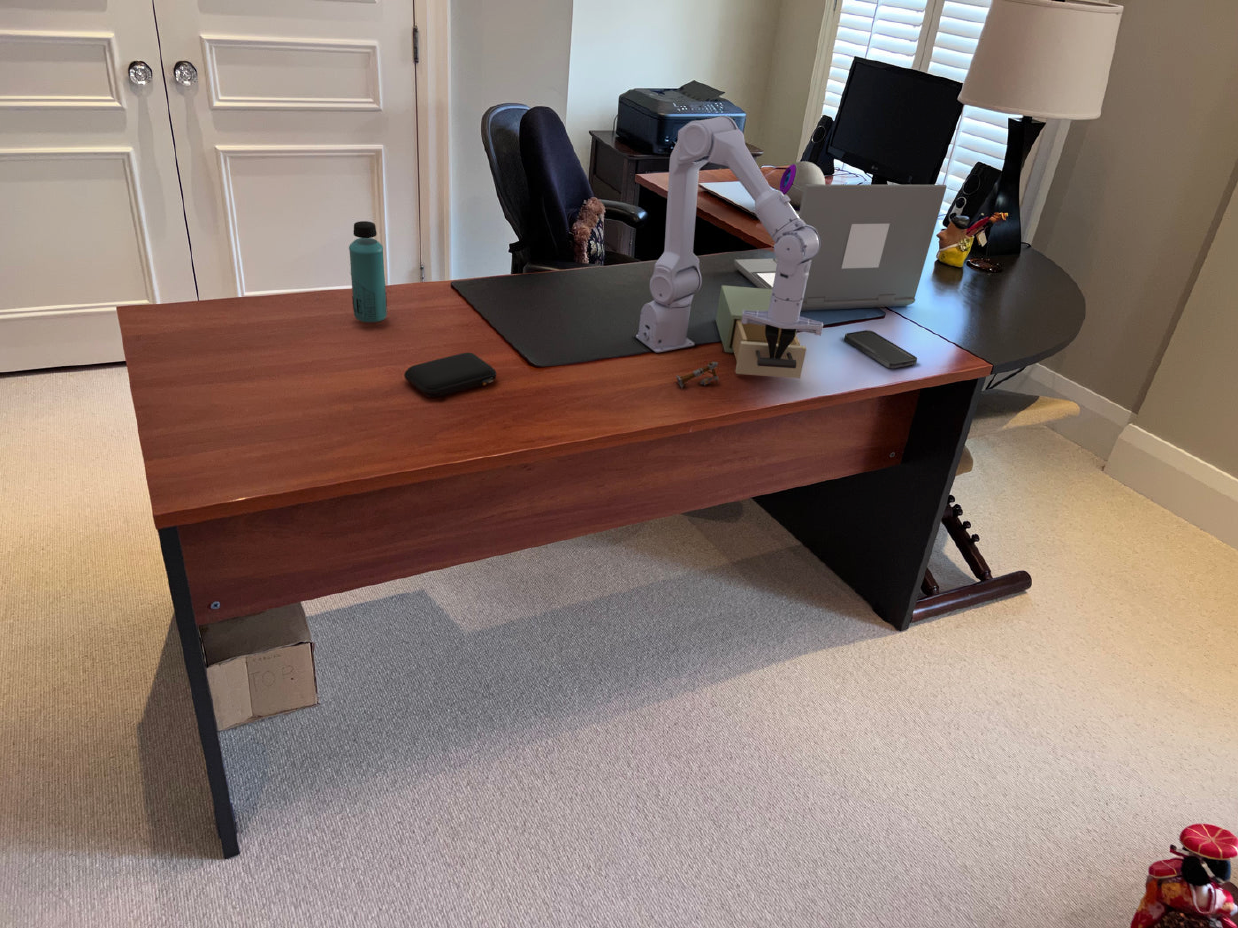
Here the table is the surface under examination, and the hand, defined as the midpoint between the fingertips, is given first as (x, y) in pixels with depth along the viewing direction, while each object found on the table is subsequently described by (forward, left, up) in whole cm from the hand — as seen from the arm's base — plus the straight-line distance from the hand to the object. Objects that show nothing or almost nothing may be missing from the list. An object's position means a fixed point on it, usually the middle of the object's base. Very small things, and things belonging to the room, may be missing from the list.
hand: (773, 363), depth 169 cm
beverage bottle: (-60, +51, -5) cm, 79 cm away
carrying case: (-55, +22, -5) cm, 59 cm away
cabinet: (+10, +18, -4) cm, 21 cm away
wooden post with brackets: (-13, +6, -5) cm, 15 cm away
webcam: (+80, +84, -5) cm, 116 cm away
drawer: (+3, +6, -4) cm, 8 cm away
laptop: (+45, +35, -5) cm, 58 cm away
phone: (+32, +3, -5) cm, 33 cm away
